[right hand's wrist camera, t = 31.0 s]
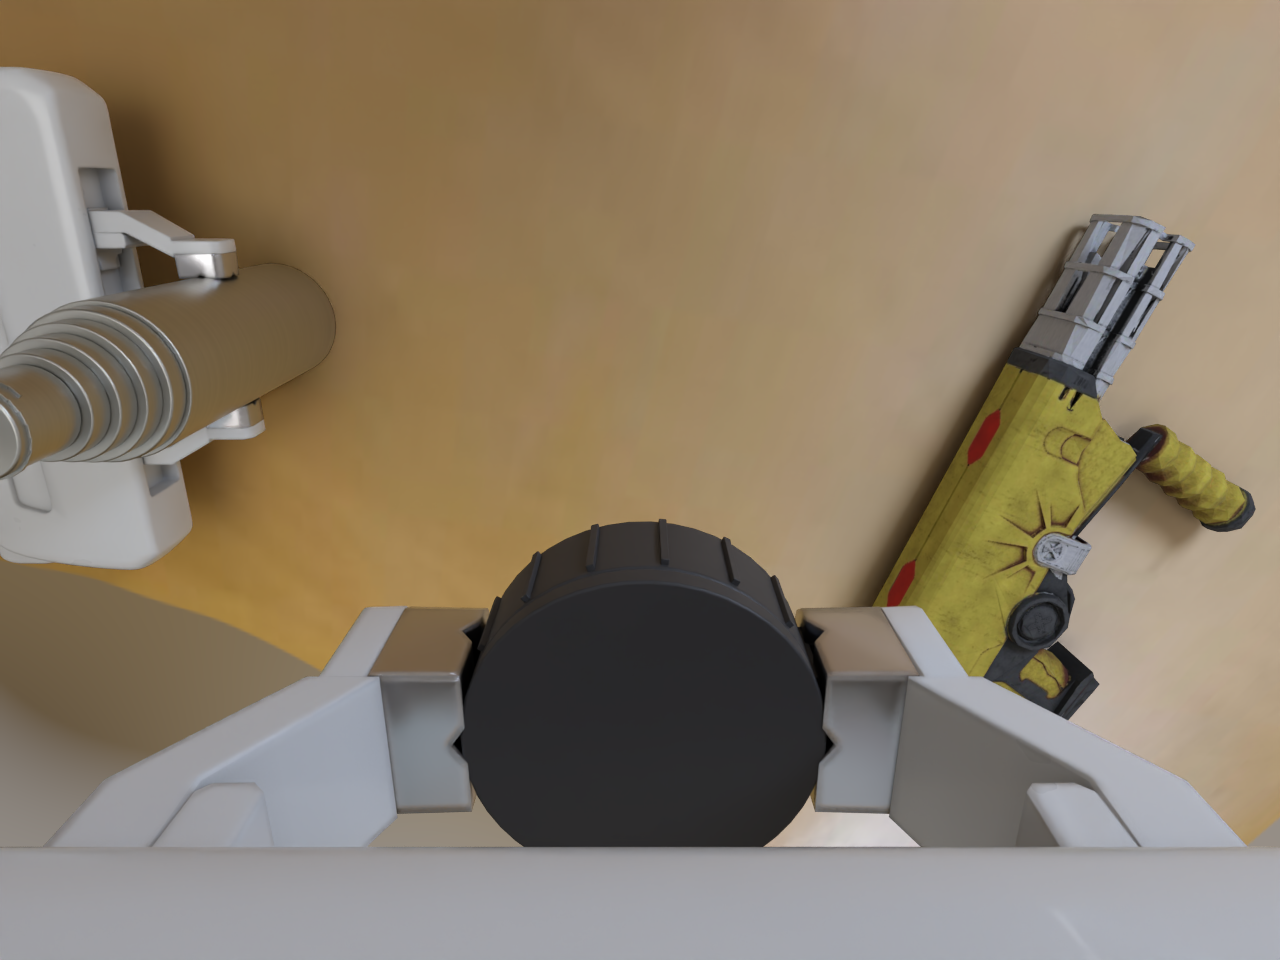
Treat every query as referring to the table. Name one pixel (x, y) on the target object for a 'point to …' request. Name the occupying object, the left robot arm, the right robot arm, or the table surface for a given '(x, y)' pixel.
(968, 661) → the toy gun
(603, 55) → the table surface
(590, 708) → the cap
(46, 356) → the bottle
